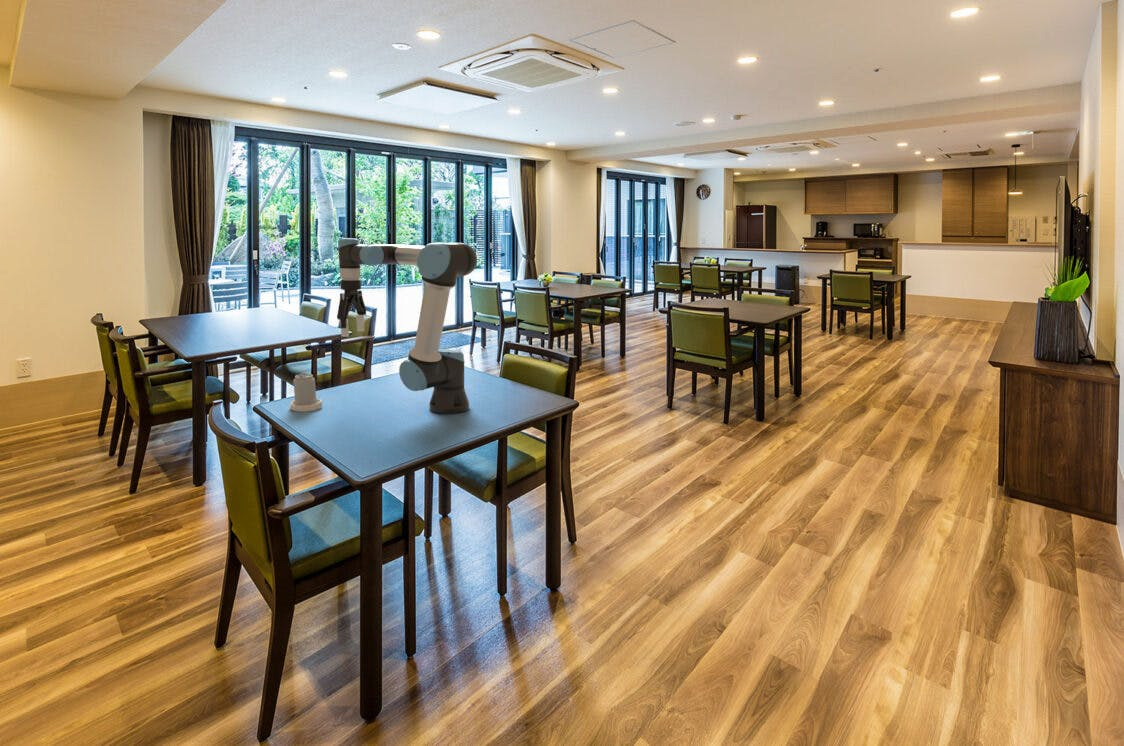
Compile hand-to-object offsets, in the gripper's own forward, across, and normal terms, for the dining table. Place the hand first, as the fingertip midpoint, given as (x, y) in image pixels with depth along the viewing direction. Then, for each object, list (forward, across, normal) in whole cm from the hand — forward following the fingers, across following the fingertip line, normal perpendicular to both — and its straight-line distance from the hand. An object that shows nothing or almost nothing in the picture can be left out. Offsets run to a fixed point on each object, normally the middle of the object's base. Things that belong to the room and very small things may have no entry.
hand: (353, 333), depth 242 cm
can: (+26, +15, -13) cm, 33 cm away
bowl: (+27, +15, -13) cm, 33 cm away
